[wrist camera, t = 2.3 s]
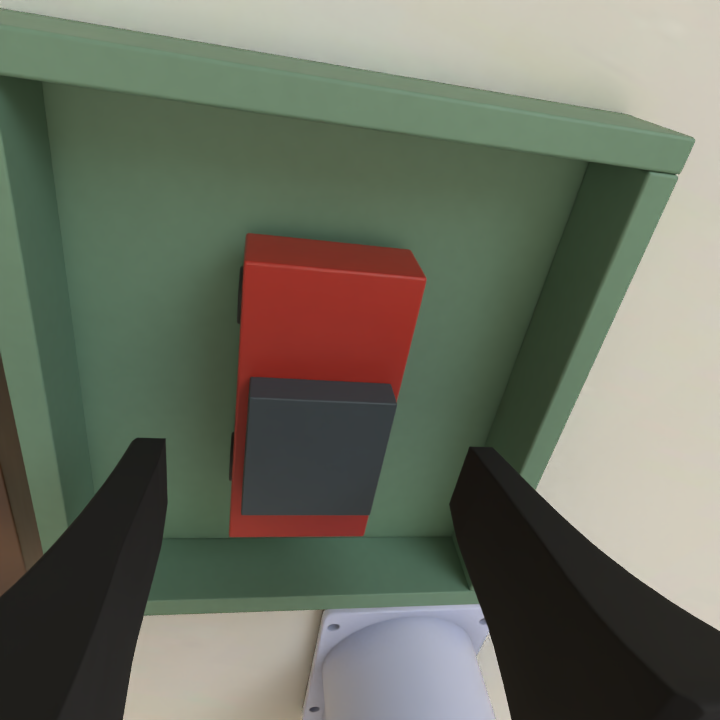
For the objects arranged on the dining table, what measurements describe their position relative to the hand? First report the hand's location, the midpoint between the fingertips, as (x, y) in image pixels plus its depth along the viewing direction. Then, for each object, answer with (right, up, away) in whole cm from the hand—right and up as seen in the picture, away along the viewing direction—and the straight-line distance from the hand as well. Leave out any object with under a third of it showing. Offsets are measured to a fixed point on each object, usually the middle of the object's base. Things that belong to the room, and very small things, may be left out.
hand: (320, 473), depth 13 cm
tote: (-1, +3, +4) cm, 5 cm away
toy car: (-1, +2, +4) cm, 4 cm away
